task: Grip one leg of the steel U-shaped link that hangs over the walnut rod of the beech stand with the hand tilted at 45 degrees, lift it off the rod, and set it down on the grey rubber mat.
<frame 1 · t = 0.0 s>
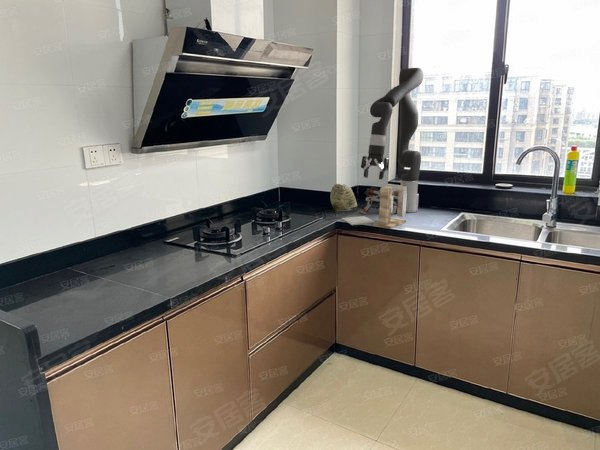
hand: (373, 178, 216), 22 cm above the worktop, tool pointing down, fingers open, 8 cm apart
link: (394, 214, 222), point 4 cm above the worktop, touching stand
mat: (358, 221, 226), on the worktop
toy blaster: (381, 214, 242), on the worktop
fossil: (343, 209, 252), on the worktop
stand: (394, 222, 223), on the worktop
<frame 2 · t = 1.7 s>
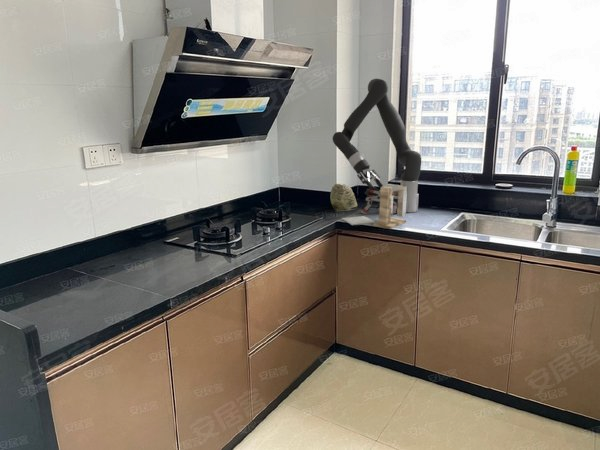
hand: (377, 187, 225), 16 cm above the worktop, tool tilted 45°, fingers open, 8 cm apart
nothing on the worktop moved.
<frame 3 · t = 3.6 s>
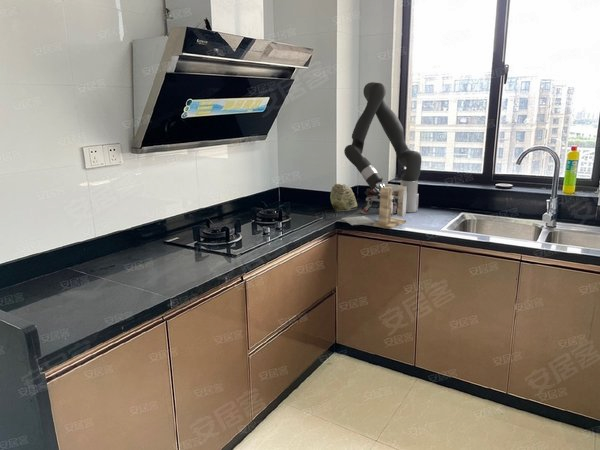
hand: (391, 202, 222), 10 cm above the worktop, tool tilted 45°, fingers closed on link, 3 cm apart
link: (394, 214, 222), point 4 cm above the worktop, touching gripper, stand
everything else where it was.
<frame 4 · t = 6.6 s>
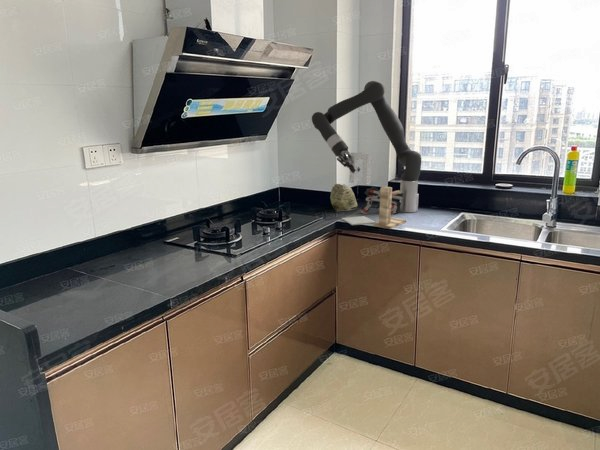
hand: (356, 171, 220), 25 cm above the worktop, tool tilted 45°, fingers closed on link, 3 cm apart
link: (359, 183, 221), point 19 cm above the worktop, touching gripper
everything else where it was.
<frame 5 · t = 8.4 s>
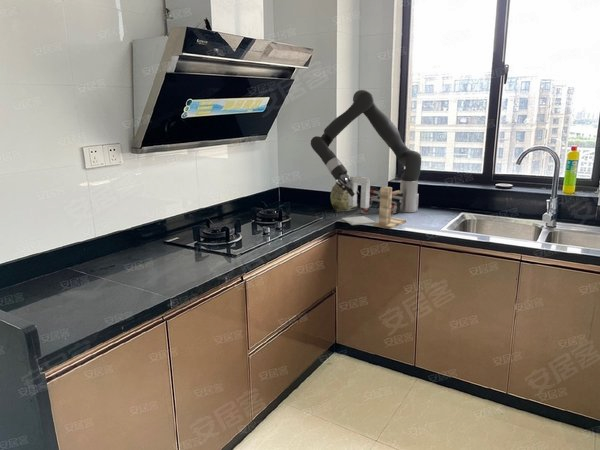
hand: (355, 194, 223), 13 cm above the worktop, tool tilted 45°, fingers closed on link, 3 cm apart
link: (358, 206, 224), point 8 cm above the worktop, touching gripper
everything else where it was.
when the fingers open (8 cm above the worktop, at t = 9.7 s): link drops 1 cm, resting on mat.
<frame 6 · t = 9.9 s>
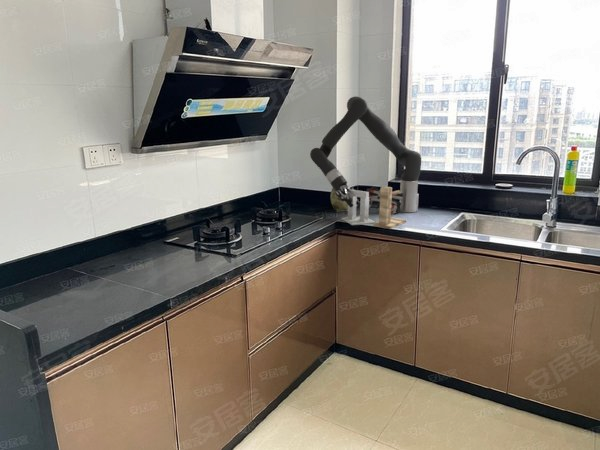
hand: (355, 205, 225), 8 cm above the worktop, tool tilted 45°, fingers open, 5 cm apart
link: (357, 219, 226), point 1 cm above the worktop, touching mat
everything else where it was.
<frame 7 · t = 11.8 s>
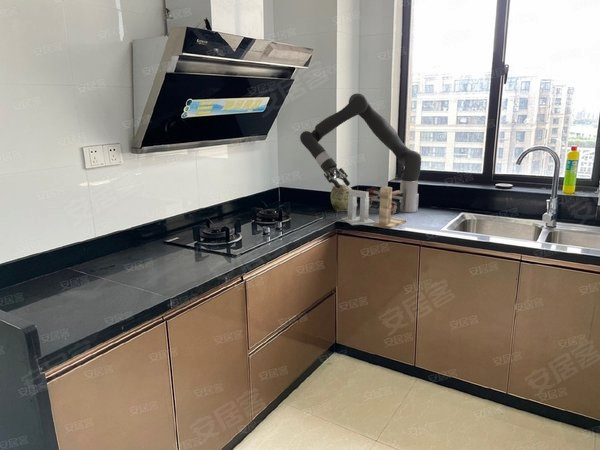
hand: (344, 186, 227), 17 cm above the worktop, tool tilted 45°, fingers open, 8 cm apart
nothing on the worktop moved.
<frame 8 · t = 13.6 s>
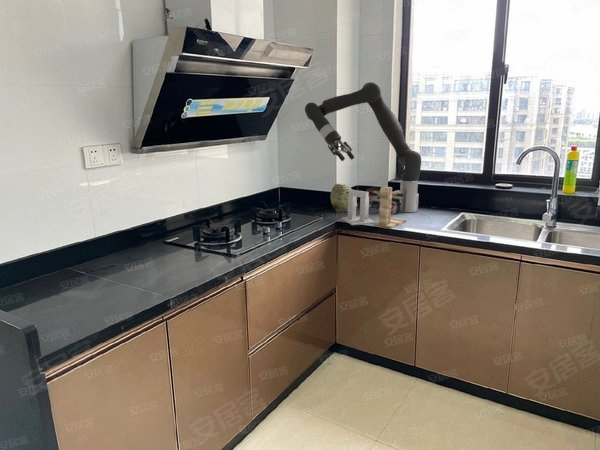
hand: (348, 159, 223), 31 cm above the worktop, tool tilted 45°, fingers open, 8 cm apart
nothing on the worktop moved.
at the end: link inside the target area on the mat (0.4 cm from its centre), point 0.6 cm above the mat's base; link touching mat; the gripper is holding nothing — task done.
